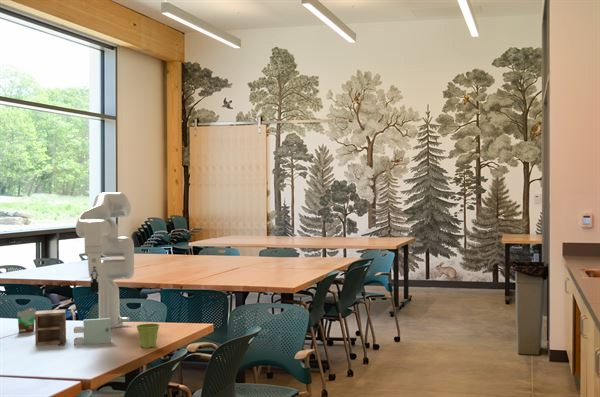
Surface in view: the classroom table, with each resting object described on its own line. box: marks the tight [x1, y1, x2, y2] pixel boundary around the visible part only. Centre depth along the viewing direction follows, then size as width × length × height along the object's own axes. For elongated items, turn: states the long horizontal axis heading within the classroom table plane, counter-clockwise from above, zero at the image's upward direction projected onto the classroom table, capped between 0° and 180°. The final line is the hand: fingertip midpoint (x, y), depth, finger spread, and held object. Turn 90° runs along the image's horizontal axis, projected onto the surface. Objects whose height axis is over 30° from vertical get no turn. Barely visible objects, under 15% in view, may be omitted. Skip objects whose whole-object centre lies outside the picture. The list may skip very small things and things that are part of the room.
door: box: [73, 318, 112, 345], centre depth 326 cm, size 15×4×10 cm, turn 105°
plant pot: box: [135, 323, 160, 349], centre depth 317 cm, size 9×9×9 cm
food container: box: [16, 307, 37, 334], centre depth 357 cm, size 12×6×10 cm, turn 179°
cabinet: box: [34, 309, 67, 347], centre depth 327 cm, size 12×14×13 cm
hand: (94, 290), depth 326 cm, fingers open, 9 cm apart
